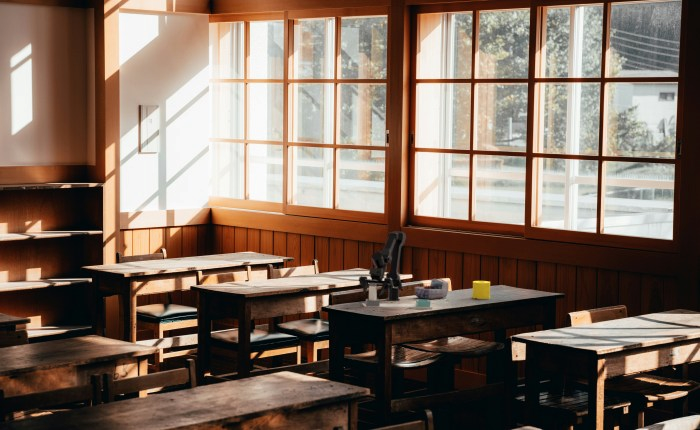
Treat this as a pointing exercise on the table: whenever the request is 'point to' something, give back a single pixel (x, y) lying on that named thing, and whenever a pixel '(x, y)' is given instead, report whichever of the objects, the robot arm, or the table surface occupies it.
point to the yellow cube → (481, 289)
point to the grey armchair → (432, 290)
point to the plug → (372, 291)
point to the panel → (419, 304)
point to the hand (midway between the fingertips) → (371, 294)
